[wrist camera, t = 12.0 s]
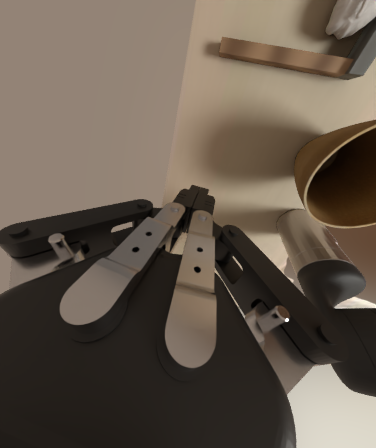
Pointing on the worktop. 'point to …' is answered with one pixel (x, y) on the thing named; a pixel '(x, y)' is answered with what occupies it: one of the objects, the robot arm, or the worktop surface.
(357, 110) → the worktop surface
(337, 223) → the plant pot
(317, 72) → the guide track
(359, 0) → the garlic
